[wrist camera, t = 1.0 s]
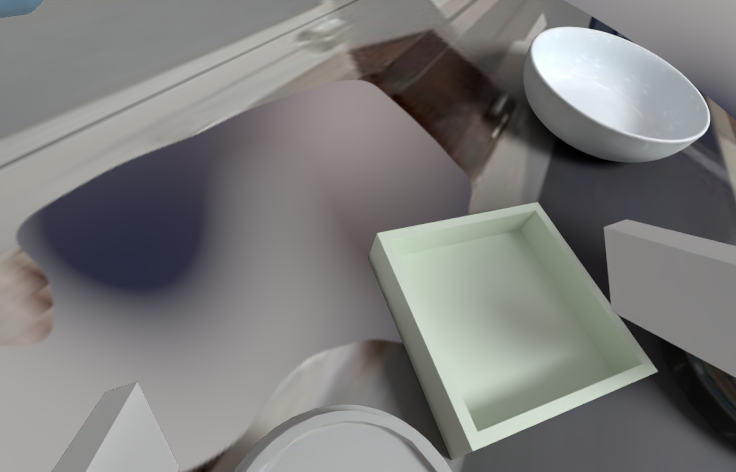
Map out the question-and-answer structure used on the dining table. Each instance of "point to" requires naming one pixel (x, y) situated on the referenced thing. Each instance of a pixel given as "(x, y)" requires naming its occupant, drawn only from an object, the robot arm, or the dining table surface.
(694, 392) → the beer stein
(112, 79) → the dining table surface
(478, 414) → the tray
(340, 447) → the disposable coffee cup
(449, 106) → the dining table surface
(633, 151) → the serving bowl
